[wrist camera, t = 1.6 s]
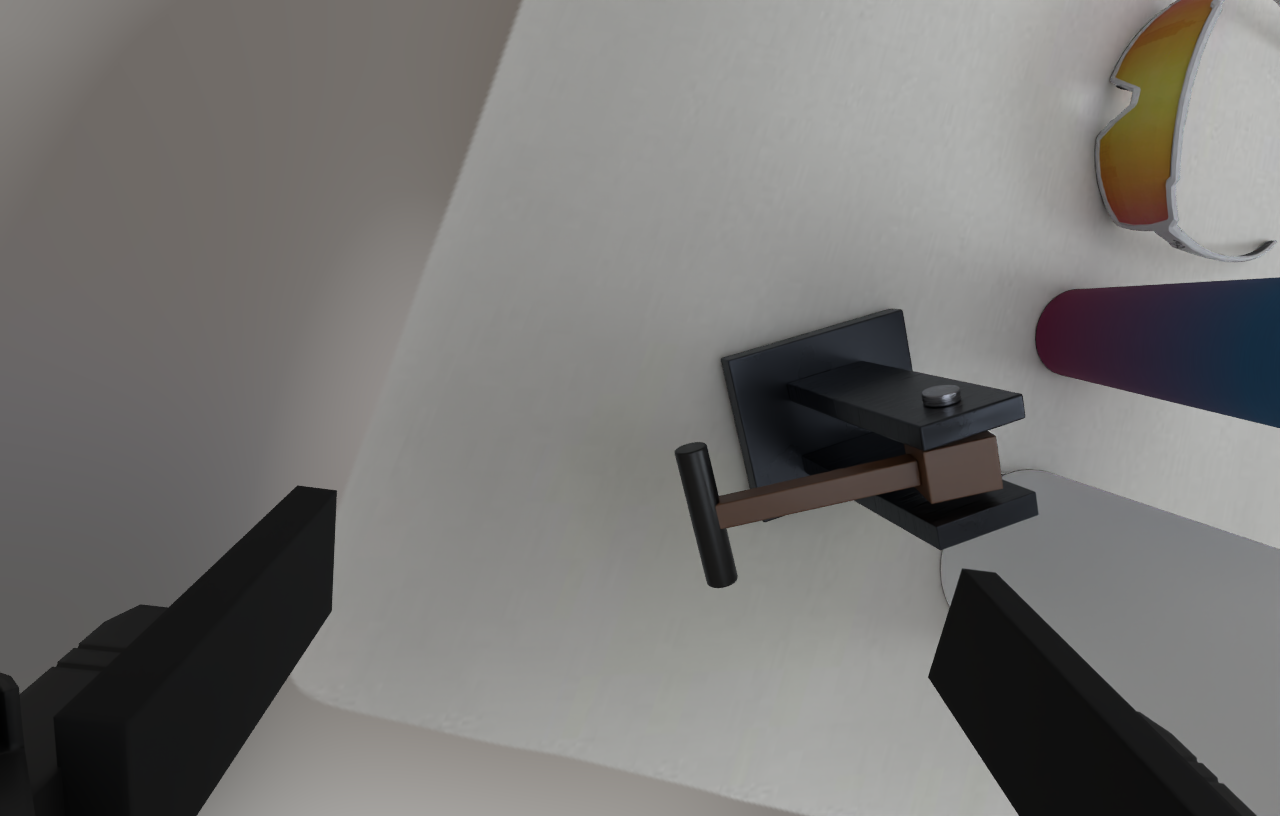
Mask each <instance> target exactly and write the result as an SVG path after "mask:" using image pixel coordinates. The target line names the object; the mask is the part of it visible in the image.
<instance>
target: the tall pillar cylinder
mask: <svg viewBox="0 0 1280 816" xmlns="http://www.w3.org/2000/svg"><path fill="white" fill-rule="evenodd" d="M1002 479H1003V480H1005V481H1008V482H1011V483H1013V484H1016V485H1019V486H1021V487H1024V488H1027V489H1029V490H1032V491H1035V492H1036V497H1037V505H1038V513H1039V515H1037V516H1034V517H1032V518H1029V519H1026V520H1023V521H1021V522H1018V523H1015V524H1012V525H1010V526H1007V527H1004V528H1001V529H998V530H996V531H993V532H990V533H987V534H985V535H982V536H979V537H976V538H974V539H971V540H968V541H965V542H963V543H960V544H957V545H954V546H952V547H949V548H946V549H943V551H942V558H941V581H942V587H943V591H944V594H945V597H946V600H947V602H948V604H949V606H950V605H951V602H952V599H953V596H954V592H955V589H956V586H957V583H958V580H959V576H960V573H961V570H962V568H964V569H972V570H980V571H988V572H996V573H997V574H998V575H999V576H1000V577H1001V578H1002V579H1003V580H1004V581H1005V582H1006V583H1007V584H1008V585H1009V586H1010V587H1011V588H1012V589H1013V590H1014V591H1015V592H1016V593H1017V594H1018V595H1019V596H1020V597H1021V598H1022V599H1023V600H1024V601H1025V602H1026V603H1027V604H1028V605H1029V606H1030V607H1031V608H1032V609H1033V610H1034V611H1035V612H1036V613H1037V614H1038V615H1039V616H1040V617H1041V618H1042V619H1043V620H1044V621H1045V622H1046V623H1047V624H1048V625H1050V626H1051V627H1052V628H1053V629H1054V630H1055V631H1056V632H1057V633H1058V634H1059V635H1060V636H1061V637H1062V638H1063V639H1064V640H1065V641H1066V642H1067V643H1068V644H1069V645H1070V646H1071V647H1072V648H1073V649H1074V650H1075V651H1076V652H1077V653H1078V654H1079V655H1080V656H1081V657H1082V658H1083V659H1084V660H1085V661H1086V662H1087V663H1088V664H1089V665H1090V666H1091V667H1092V668H1093V669H1094V670H1095V671H1096V672H1097V673H1098V674H1099V675H1100V676H1101V677H1102V678H1103V679H1104V680H1105V681H1106V682H1107V683H1108V684H1109V685H1110V686H1111V687H1112V688H1113V689H1114V690H1115V691H1116V692H1117V693H1118V694H1119V695H1120V696H1121V697H1122V698H1123V699H1124V700H1125V701H1127V702H1128V703H1129V704H1130V705H1131V706H1132V707H1133V708H1134V709H1135V710H1136V711H1138V712H1141V713H1142V714H1144V715H1145V716H1146V717H1148V718H1149V719H1151V720H1152V721H1154V722H1155V723H1157V724H1158V725H1160V726H1161V727H1163V728H1164V729H1166V730H1167V731H1169V732H1170V733H1172V734H1173V735H1174V736H1175V737H1176V738H1177V739H1178V740H1179V741H1180V742H1181V743H1182V744H1183V745H1184V746H1185V747H1186V748H1187V749H1188V750H1189V751H1190V752H1191V753H1192V754H1193V755H1194V756H1196V757H1197V762H1198V763H1203V764H1204V765H1205V766H1206V767H1207V768H1208V769H1209V770H1210V771H1211V772H1212V773H1213V774H1214V775H1215V776H1216V777H1217V778H1218V782H1219V783H1224V784H1225V785H1226V786H1227V787H1228V788H1229V789H1230V790H1231V791H1232V792H1233V793H1234V794H1235V795H1236V796H1237V797H1238V798H1239V799H1240V800H1241V801H1242V802H1243V803H1244V804H1245V805H1246V806H1247V807H1248V808H1249V809H1250V810H1252V811H1253V812H1254V813H1255V814H1256V815H1257V816H1280V549H1278V548H1275V547H1272V546H1269V545H1266V544H1263V543H1260V542H1257V541H1254V540H1251V539H1248V538H1245V537H1242V536H1239V535H1236V534H1233V533H1230V532H1227V531H1224V530H1221V529H1218V528H1215V527H1212V526H1209V525H1206V524H1203V523H1200V522H1197V521H1194V520H1191V519H1188V518H1185V517H1182V516H1179V515H1176V514H1173V513H1170V512H1167V511H1164V510H1161V509H1158V508H1155V507H1152V506H1149V505H1146V504H1143V503H1140V502H1137V501H1134V500H1131V499H1128V498H1125V497H1122V496H1119V495H1116V494H1113V493H1110V492H1107V491H1104V490H1101V489H1098V488H1095V487H1092V486H1089V485H1086V484H1083V483H1080V482H1077V481H1074V480H1071V479H1068V478H1065V477H1062V476H1059V475H1056V474H1053V473H1050V472H1046V471H1040V470H1022V471H1016V472H1012V473H1009V474H1006V475H1003V476H1002Z"/></svg>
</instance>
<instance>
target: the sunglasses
mask: <svg viewBox="0 0 1280 816" xmlns="http://www.w3.org/2000/svg"><path fill="white" fill-rule="evenodd" d="M1224 1H1225V0H1177V1H1175V2H1174V3H1172V4H1170V5H1169V6H1168V7H1166V8H1165V9H1164V10H1163V11H1161V12H1160V13H1159V14H1158V15H1156V16H1155V17H1154V18H1153V19H1152V20H1151V21H1150V22H1149V23H1148V24H1147V25H1146V26H1145V27H1144V28H1143V29H1142V30H1141V31H1140V32H1139V33H1138V34H1137V35H1136V37H1135V38H1134V39H1133V41H1132V42H1131V43H1130V45H1129V46H1128V47H1127V49H1126V50H1125V51H1124V53H1123V55H1122V56H1121V58H1120V60H1119V62H1118V64H1117V65H1116V67H1115V70H1114V72H1113V74H1112V77H1111V82H1112V83H1114V84H1116V87H1117V88H1120V89H1123V90H1129V91H1132V92H1133V93H1132V97H1131V101H1130V105H1129V106H1128V107H1127V108H1126V109H1124V110H1123V111H1122V112H1121V113H1120V114H1119V115H1118V116H1117V117H1116V118H1115V119H1113V120H1111V121H1110V122H1109V123H1108V124H1107V126H1106V127H1105V128H1104V129H1103V130H1102V132H1101V133H1100V134H1099V135H1098V137H1097V139H1096V150H1095V161H1096V173H1097V180H1098V186H1099V189H1100V192H1101V195H1102V198H1103V201H1104V204H1105V207H1106V209H1107V211H1108V213H1109V215H1110V216H1111V218H1112V220H1113V222H1114V223H1115V224H1116V225H1117V226H1119V227H1122V228H1126V229H1130V230H1138V231H1154V232H1155V233H1156V234H1158V235H1159V236H1160V237H1162V238H1163V239H1165V240H1166V241H1167V242H1168V243H1169V244H1170V245H1171V246H1172V247H1174V248H1177V249H1180V250H1183V251H1186V252H1189V253H1192V254H1195V255H1198V256H1202V257H1205V258H1209V259H1214V260H1219V261H1224V262H1243V261H1249V260H1252V259H1255V258H1258V257H1260V256H1262V255H1264V254H1265V253H1267V252H1268V251H1269V250H1271V249H1272V248H1273V247H1274V246H1275V244H1276V243H1277V241H1266V242H1265V243H1263V244H1262V245H1261V246H1260V247H1258V248H1257V249H1256V250H1254V251H1253V252H1251V253H1248V254H1246V255H1242V256H1225V255H1222V254H1218V253H1214V252H1212V251H1210V250H1208V249H1206V248H1204V247H1202V246H1201V245H1199V244H1198V243H1196V242H1195V241H1194V240H1193V239H1192V238H1190V237H1189V236H1188V235H1187V234H1186V233H1185V232H1184V231H1183V230H1181V228H1180V227H1179V226H1178V225H1177V223H1178V221H1179V218H1178V210H1177V202H1176V183H1177V182H1178V180H1179V179H1180V167H1181V153H1182V140H1183V132H1184V127H1185V122H1186V117H1187V112H1188V107H1189V102H1190V97H1191V92H1192V87H1193V84H1194V81H1195V77H1196V74H1197V71H1198V67H1199V64H1200V60H1201V57H1202V54H1203V51H1204V49H1205V46H1206V44H1207V41H1208V38H1209V36H1210V34H1211V32H1212V29H1213V27H1214V25H1215V23H1216V21H1217V19H1218V17H1219V15H1220V13H1221V12H1222V6H1221V5H1222V4H1223V2H1224ZM1274 1H1275V2H1276V3H1277V4H1278V5H1279V6H1280V0H1274Z"/></svg>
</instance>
